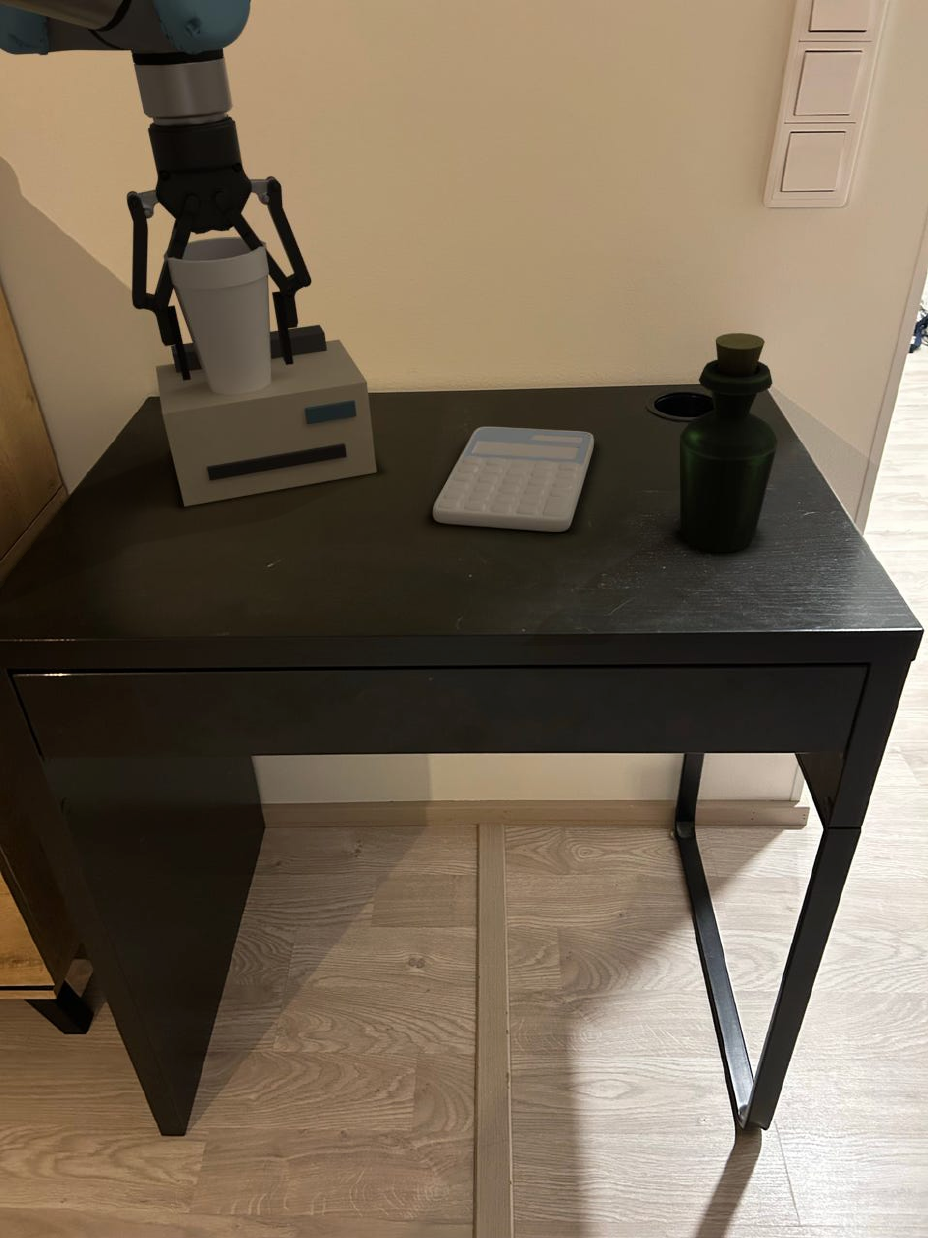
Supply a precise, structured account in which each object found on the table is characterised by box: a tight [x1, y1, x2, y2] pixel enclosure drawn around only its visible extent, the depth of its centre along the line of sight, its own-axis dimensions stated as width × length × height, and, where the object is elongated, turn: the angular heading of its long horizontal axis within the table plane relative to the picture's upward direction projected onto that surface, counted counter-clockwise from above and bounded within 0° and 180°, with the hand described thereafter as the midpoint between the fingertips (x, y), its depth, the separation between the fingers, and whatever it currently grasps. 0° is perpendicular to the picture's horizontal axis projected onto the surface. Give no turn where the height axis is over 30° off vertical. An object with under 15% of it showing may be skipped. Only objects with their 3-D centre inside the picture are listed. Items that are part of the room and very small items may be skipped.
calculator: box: [432, 426, 595, 533], centre depth 97 cm, size 13×20×2 cm, turn 167°
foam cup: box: [163, 236, 272, 395], centre depth 93 cm, size 10×9×13 cm
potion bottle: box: [679, 332, 779, 553], centre depth 82 cm, size 8×8×18 cm
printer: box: [155, 324, 377, 507], centre depth 101 cm, size 20×14×12 cm
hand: (237, 367), depth 96 cm, fingers closed on foam cup, 9 cm apart
